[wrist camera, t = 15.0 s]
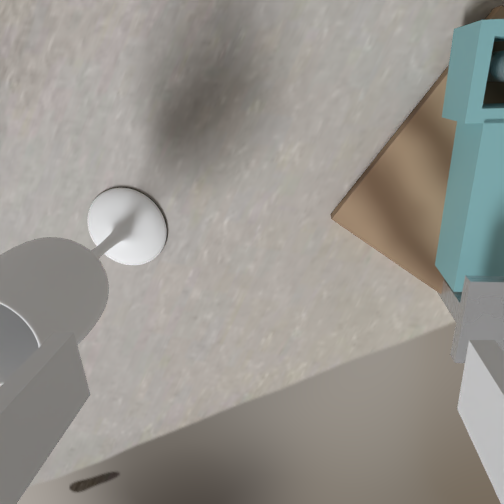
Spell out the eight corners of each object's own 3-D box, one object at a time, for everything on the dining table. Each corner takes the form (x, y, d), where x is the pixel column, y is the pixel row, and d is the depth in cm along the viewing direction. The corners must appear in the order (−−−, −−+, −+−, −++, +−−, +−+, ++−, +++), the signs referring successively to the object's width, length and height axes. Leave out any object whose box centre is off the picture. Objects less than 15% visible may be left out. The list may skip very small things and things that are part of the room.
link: (454, 28, 32) (481, 20, 27) (544, 25, 32) (590, 14, 27) (420, 264, 40) (437, 291, 35) (492, 266, 39) (520, 293, 34)
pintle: (484, 47, 34) (526, 39, 27) (504, 63, 34) (550, 59, 28) (464, 71, 35) (500, 69, 28) (484, 87, 35) (524, 89, 29)
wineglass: (76, 237, 45) (-93, 354, 26) (107, 171, 42) (-60, 249, 23) (145, 278, 46) (32, 420, 27) (181, 217, 43) (81, 330, 24)
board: (493, 8, 33) (502, 5, 31) (637, 125, 35) (651, 127, 33) (330, 214, 41) (331, 219, 39) (455, 299, 43) (460, 307, 41)
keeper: (424, 226, 40) (470, 281, 29) (490, 226, 39) (561, 283, 28) (416, 289, 43) (454, 362, 32) (477, 291, 42) (538, 366, 31)
